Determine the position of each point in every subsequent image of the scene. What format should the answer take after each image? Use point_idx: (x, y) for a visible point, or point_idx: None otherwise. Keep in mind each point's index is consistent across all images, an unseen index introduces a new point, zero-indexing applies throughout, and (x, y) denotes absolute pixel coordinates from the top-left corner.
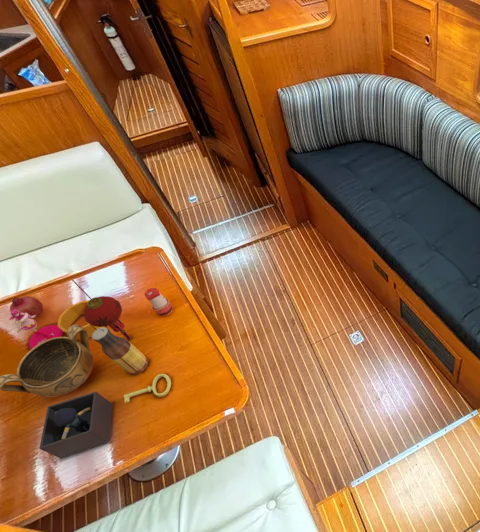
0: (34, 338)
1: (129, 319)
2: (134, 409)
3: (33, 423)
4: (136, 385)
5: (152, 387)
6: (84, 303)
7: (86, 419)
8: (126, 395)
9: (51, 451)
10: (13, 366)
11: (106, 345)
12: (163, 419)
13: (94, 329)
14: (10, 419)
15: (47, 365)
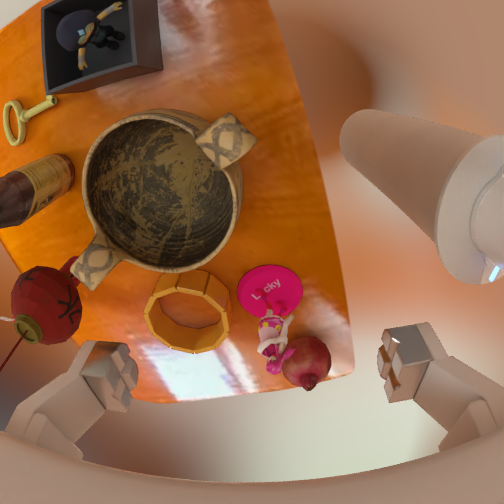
0: (290, 296)
1: (114, 288)
2: None
3: (237, 73)
4: (52, 128)
5: (19, 117)
6: (190, 347)
7: (120, 60)
8: (48, 102)
9: None
10: (322, 240)
11: None
12: (9, 59)
13: (158, 283)
14: (293, 99)
15: (223, 211)
